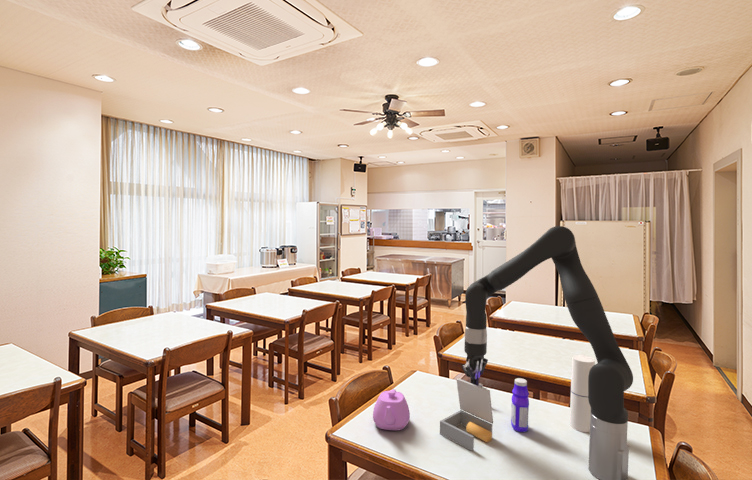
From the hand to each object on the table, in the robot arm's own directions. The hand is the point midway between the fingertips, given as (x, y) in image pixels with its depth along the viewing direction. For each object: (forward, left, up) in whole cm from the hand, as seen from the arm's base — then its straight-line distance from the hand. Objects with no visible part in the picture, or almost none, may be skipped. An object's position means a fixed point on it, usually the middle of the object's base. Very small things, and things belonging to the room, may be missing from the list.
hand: (474, 387), depth 132 cm
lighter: (+12, -17, -15) cm, 26 cm away
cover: (-1, +1, -4) cm, 4 cm away
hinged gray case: (-1, +6, -15) cm, 16 cm away
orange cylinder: (-4, +4, -15) cm, 16 cm away
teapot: (+21, +21, -15) cm, 33 cm away
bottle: (-10, -13, -15) cm, 23 cm away
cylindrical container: (-24, -31, -15) cm, 42 cm away
